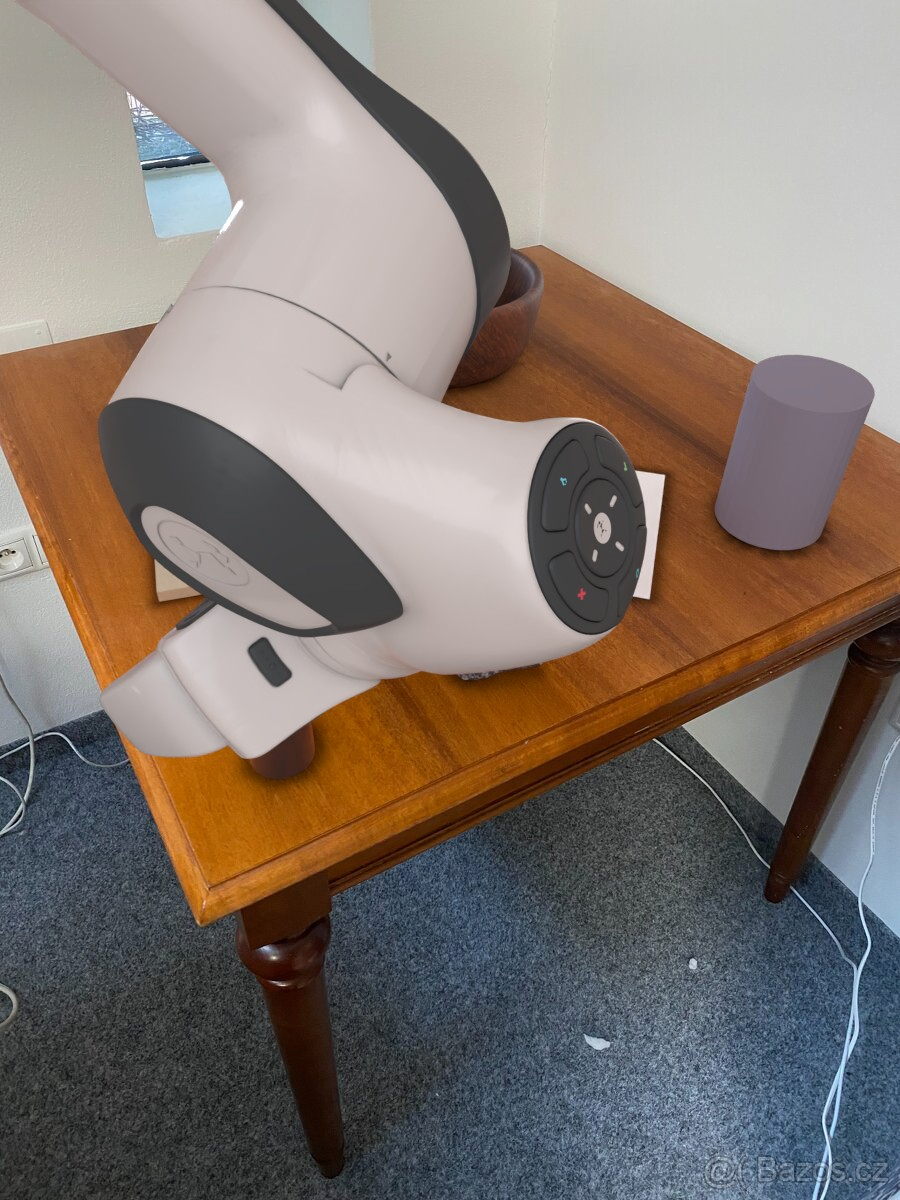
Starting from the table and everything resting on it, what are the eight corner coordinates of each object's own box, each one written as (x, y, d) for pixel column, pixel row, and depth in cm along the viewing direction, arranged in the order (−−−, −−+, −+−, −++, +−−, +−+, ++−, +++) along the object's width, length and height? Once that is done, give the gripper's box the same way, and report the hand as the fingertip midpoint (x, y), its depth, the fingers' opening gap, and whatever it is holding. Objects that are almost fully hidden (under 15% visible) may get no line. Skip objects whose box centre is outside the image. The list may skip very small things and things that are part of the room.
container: (752, 562, 81) (798, 421, 71) (693, 500, 89) (728, 363, 78) (843, 540, 84) (901, 402, 74) (780, 481, 91) (824, 347, 81)
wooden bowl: (404, 294, 124) (402, 219, 117) (567, 335, 115) (576, 257, 108) (300, 368, 107) (291, 286, 100) (482, 422, 99) (486, 337, 92)
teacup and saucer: (585, 486, 90) (591, 452, 87) (574, 532, 84) (579, 497, 81) (502, 472, 91) (504, 439, 89) (486, 517, 86) (487, 482, 83)
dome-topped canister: (253, 786, 62) (231, 687, 55) (245, 734, 65) (223, 635, 58) (320, 771, 63) (307, 672, 56) (309, 721, 67) (295, 622, 59)
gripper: (448, 422, 45) (318, 479, 56) (133, 667, 34) (46, 680, 45) (509, 523, 47) (371, 560, 58) (228, 788, 36) (122, 772, 47)
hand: (227, 614), depth 52 cm, fingers open, 8 cm apart
